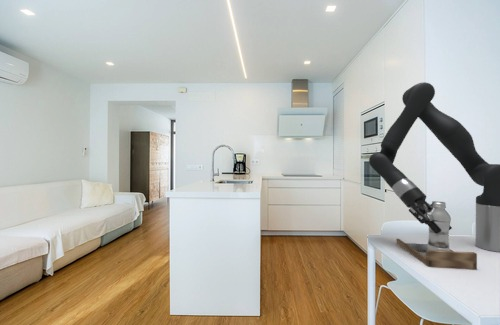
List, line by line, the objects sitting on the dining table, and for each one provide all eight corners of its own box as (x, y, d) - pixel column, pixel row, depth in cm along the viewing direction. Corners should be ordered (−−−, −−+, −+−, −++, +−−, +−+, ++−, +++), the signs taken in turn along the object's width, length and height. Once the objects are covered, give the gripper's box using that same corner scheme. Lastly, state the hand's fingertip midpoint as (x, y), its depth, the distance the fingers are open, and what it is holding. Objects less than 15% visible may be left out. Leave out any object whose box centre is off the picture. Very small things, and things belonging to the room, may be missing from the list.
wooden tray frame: (433, 245, 97) (433, 233, 97) (476, 269, 75) (476, 253, 75) (396, 243, 99) (396, 231, 99) (428, 266, 77) (428, 251, 77)
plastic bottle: (422, 255, 86) (422, 200, 86) (441, 255, 86) (441, 200, 86) (435, 263, 80) (435, 203, 80) (455, 263, 80) (456, 203, 80)
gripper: (404, 187, 86) (442, 228, 76) (426, 185, 93) (464, 222, 82) (390, 199, 91) (424, 239, 81) (411, 197, 98) (445, 233, 87)
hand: (444, 230), depth 82 cm, fingers closed on plastic bottle, 6 cm apart
